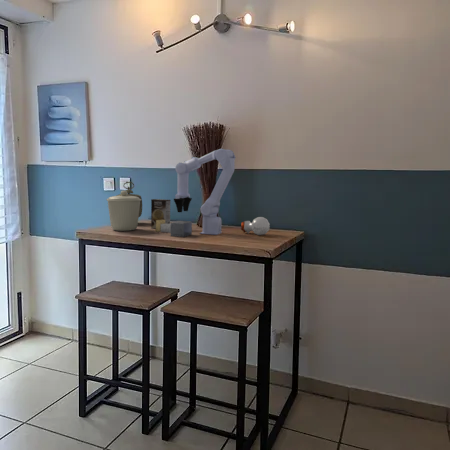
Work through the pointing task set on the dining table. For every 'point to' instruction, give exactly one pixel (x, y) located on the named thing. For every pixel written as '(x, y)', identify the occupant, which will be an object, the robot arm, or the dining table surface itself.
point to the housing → (181, 228)
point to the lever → (163, 226)
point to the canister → (124, 212)
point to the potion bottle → (256, 226)
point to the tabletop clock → (133, 195)
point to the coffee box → (160, 211)
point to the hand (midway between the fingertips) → (182, 211)
